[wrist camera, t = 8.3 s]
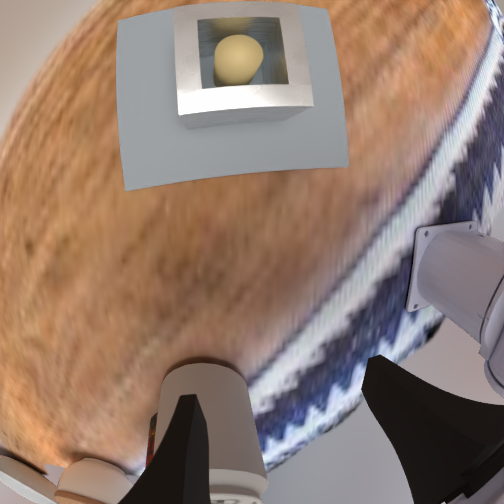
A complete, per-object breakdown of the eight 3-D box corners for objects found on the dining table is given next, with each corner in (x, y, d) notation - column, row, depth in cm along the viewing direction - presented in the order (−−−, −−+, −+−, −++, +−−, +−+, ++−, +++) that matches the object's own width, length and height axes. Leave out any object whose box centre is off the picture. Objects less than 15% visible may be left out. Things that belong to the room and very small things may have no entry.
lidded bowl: (102, 445, 24) (89, 515, 13) (160, 483, 28) (159, 540, 18) (51, 447, 23) (35, 501, 13) (105, 484, 28) (99, 532, 18)
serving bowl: (66, 497, 32) (63, 517, 25) (-4, 456, 25) (-10, 474, 19) (78, 485, 28) (74, 511, 22) (-11, 431, 22) (-21, 454, 16)
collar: (274, 41, 13) (297, 4, 8) (283, 121, 15) (313, 106, 10) (182, 46, 12) (173, 7, 8) (188, 129, 14) (178, 114, 10)
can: (155, 355, 20) (135, 489, 9) (248, 353, 21) (280, 487, 10) (169, 411, 22) (165, 520, 11) (245, 409, 23) (268, 517, 12)
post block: (321, 14, 13) (352, -17, 9) (342, 166, 17) (384, 171, 13) (122, 26, 12) (99, -7, 7) (130, 189, 16) (101, 201, 11)
